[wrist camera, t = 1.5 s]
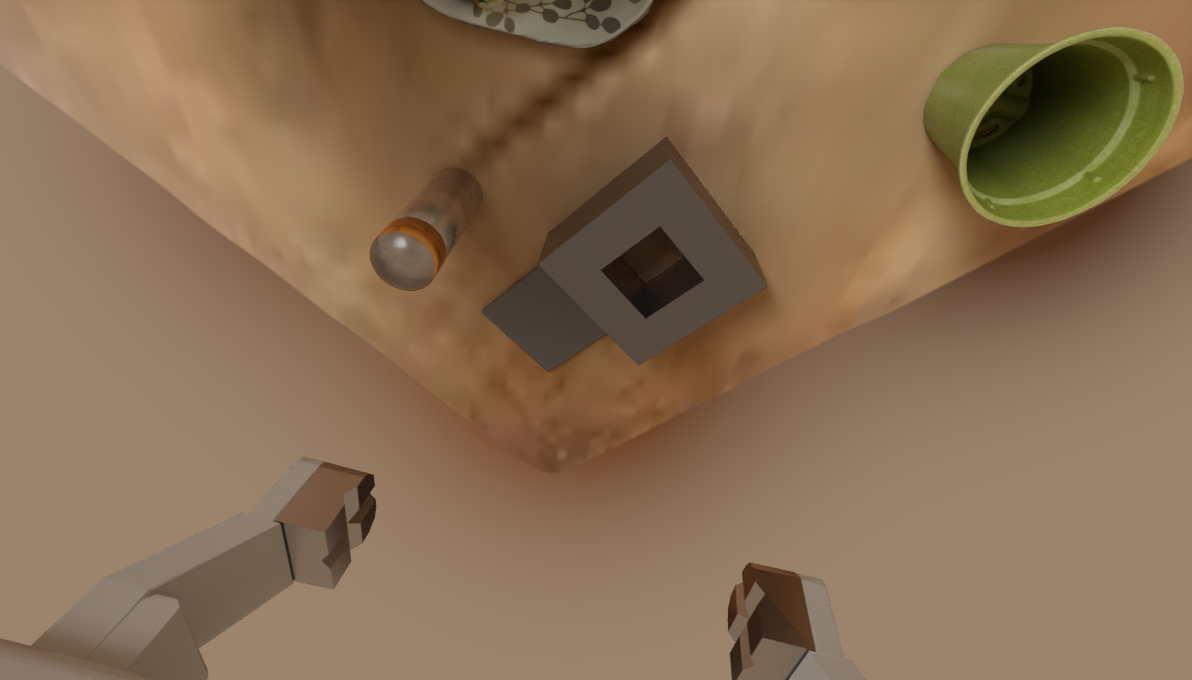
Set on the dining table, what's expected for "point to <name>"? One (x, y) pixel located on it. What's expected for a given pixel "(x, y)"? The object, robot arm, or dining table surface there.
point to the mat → (543, 320)
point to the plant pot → (1054, 121)
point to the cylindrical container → (426, 231)
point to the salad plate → (549, 18)
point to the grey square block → (676, 296)
